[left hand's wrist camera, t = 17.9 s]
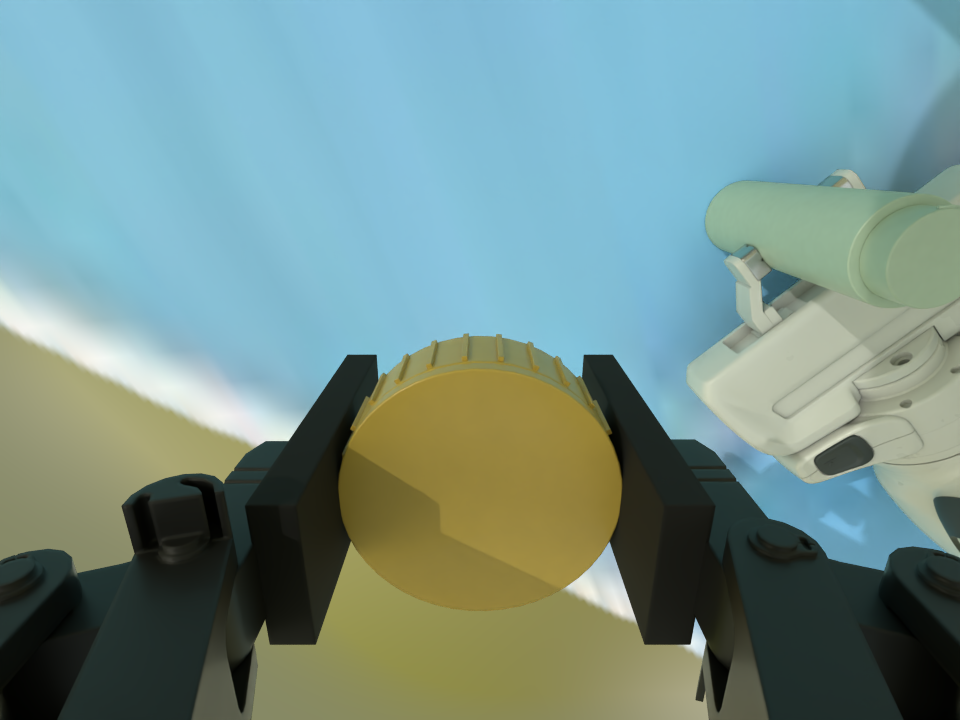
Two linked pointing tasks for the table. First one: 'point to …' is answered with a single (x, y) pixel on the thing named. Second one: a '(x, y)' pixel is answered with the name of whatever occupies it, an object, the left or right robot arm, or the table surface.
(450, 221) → the table surface
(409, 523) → the lid
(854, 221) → the jar
